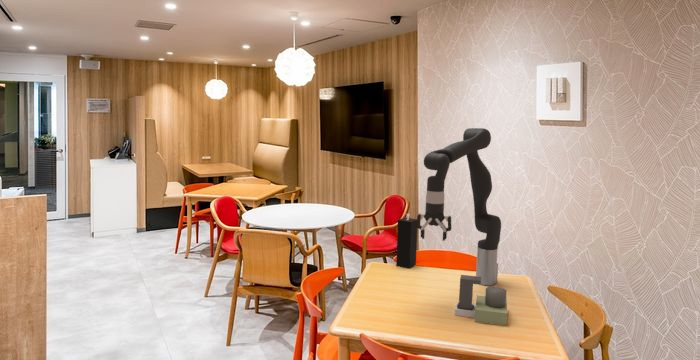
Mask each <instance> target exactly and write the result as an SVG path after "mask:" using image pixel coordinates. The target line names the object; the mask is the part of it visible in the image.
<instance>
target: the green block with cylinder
mask: <svg viewBox="0 0 700 360" xmlns="http://www.w3.org/2000/svg"><path fill="white" fill-rule="evenodd" d="M453 315H454V316H458V317H467V318H474V322H475V323H482V324H483V323H484V324H491V325H498V326H507V324H508V321H507V320H508V299H507V290H506V289H505V288H503V287H500V286H487V287H486V288H485V295H478V294H477V295H476V299H475V303H472V311H471V310H463V309H459V301H456V302H455V304H454V314H453Z"/></svg>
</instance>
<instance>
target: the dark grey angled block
mask: <svg viewBox="0 0 700 360" xmlns="http://www.w3.org/2000/svg"><path fill="white" fill-rule="evenodd" d="M474 285H479V286H480V285H481V277H478V276H476V275H468V274H467V275H466V274H461V275H460V279H459V294H458V295H459V297H458V302H459V309H463V310H471V311H473V310H472V304H473V294H474V293H473V291H474ZM481 286H482V285H481Z"/></svg>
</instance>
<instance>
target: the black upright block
mask: <svg viewBox="0 0 700 360" xmlns="http://www.w3.org/2000/svg"><path fill="white" fill-rule="evenodd" d="M410 214H411V213H406V217H404V216H403V217H402V218H398V219H397V233H396V234H397V235H396V237H397V241H396V266H397V267H399V266H400V267H401V268H405V269H412V267H415V266H416V265H417V248H418V247H417V245H418V243H417V242H418V228H417V227H416V226H417V218H413V217H412V218H410Z"/></svg>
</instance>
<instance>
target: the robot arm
mask: <svg viewBox="0 0 700 360" xmlns="http://www.w3.org/2000/svg"><path fill="white" fill-rule="evenodd" d="M462 135H463V136H462V139H463V140H461V141H456V142H454V143H451V144H448V145H447V146H445V147H444V148H439V149H436V150H433V151H430V152H428V153H427V154H426V155H425V156H424V159H423V166H424V167H425V168H426V169H427V170H431V171H436V173H435V175H430V176H428V177H427V181H426V193H425V194H426V195H425V209H424V210H425V212H424V214H423V213H418V214H417V217H416V219H417V226H416V227H417V229H419V230H420V238H421V239H422V240H425V237H426V236H425V233H426V232H425V231H426V227H427V226H428V225H429V226H434V227H438V226H439V227H440V228H441V230H442V241H444V242H445V241H446V239H447V235H448V233H447V232H450V231H452V215H446V216H445V210H444V209H445V182H446V179H447V174H448V171H449V168H450V165H451V164H453V162H456V161H457V160H459V159H461V158H463V157H465V156H466V158H467V159H466V160H467V164H468V169H469V176H470V184H471V185H470V186H471V190H472V198H473V208H474V212H473V213H474V224H475V228H476V230H477V231H478V232H480V233H483V234H485V238H483V239H479V240H478V242H477V248H476V249H477V250H476V251H477V252H476V271H475V276H478V277H481V286H493V285H496V284H497V283H498V274H499V273H498V272H499V271H498V270H499V263H498V250H499V248H498V247H499V244H500V239H501V232H502V231H501V230H502V221H501V218H500V217H499V216H497V215H495V214H491V213H488V211H487V201H488V200H489V197H490V195H491V193H492V190H493V182H492V181H493V180H492V175H491V172H490V170H489V169H488V167H487V166H486V165H485V163H484V162H483V160H482V159H481V158H480V156H479V152H478V151H480V150H483V149H486V148H488V147H489V145H490V144H491V141H492V135H491V132H490V131H489V130H488V129H486V128H483V127H482V128H481V127H480V128H479V127H475V128H474V127H469V128H466V129H465V130H464V133H463V134H462ZM423 218H424V219H425V222H424V223H423V225H421V222H422V220H423ZM444 220H445V222H447V227H446V225H445V224H444V222H443V221H444Z"/></svg>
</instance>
